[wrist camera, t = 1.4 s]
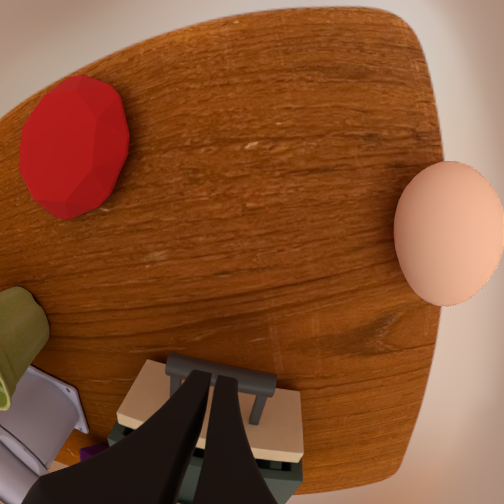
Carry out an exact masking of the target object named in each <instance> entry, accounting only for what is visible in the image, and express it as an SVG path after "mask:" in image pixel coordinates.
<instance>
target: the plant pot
mask: <svg viewBox="0 0 504 504" xmlns="http://www.w3.org/2000/svg"><path fill="white" fill-rule="evenodd" d="M49 334H50V329H49V324H48V320H47V317H46V315H45V312H44V311H43V309H42V307H41V306H39V305H38V304H37V303H36V302H35V300H34V299H33V297H32V294H31V293H30V292H29V291H27V290H26V289H24V288H22V287H19V286H15V287H12V288H9V289H7V290H4V291H2V292H0V410H3V411H7V410H8V409H9V408H10V406H11V403H12V399H11V397H12V396H13V394H14V392H15V390H16V385H17V383H18V382H19V380H20V379H21V377H22V376H23V374H24V373H25V371H26V370H27V368H28V367H29V366H30V364H31V363H32V361H33V360H34V359H35V357H36V356H37V354H38V353H39V352H40V350H41V349H42V348H43V346H44V345H45V344H46V342H47V340H48V338H49Z"/></svg>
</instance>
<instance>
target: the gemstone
mask: <svg viewBox="0 0 504 504" xmlns="http://www.w3.org/2000/svg"><path fill="white" fill-rule="evenodd" d="M129 139H130V134H129V129H128V125H127V121H126V116H125V112H124V107H123V103H122V98H121V96H120V95H119V94H118V93H117V91H116V90H115V89H114V87H113V86H111V85H109V84H106V83H104V82H101V81H99V80H96V79H93V78H91V77H88V76H85V75H79V76H74V77H70V78H68V79H67V80H65V81H64V82H62V83H61V84H59V85H58V86H57V87H55V88H54V89H52V90H51V91H50V92H48V93H47V94H45V95H44V96H43V98H42V99H41V100H40V102H39V103H38V104H37V106H36V107H35V109H34V110H33V112H32V113H31V115H30V116H29V118H28V119H27V121H26V123H25V124H24V126H23V128H22V135H21V145H20V157H19V171H20V173H21V175H22V178H23V180H24V182H25V184H26V186H27V189H28V191H29V192H30V194H31V196H32V198H33V199H34V201H35V202H36V203H37V204H39V205H40V206H41V207H43V208H44V209H45V210H47V211H48V212H49V213H51V214H52V215H54V216H55V217H56V218H61V219H72V218H74V217H76V216H79V215H81V214H83V213H86V212H88V211H90V210H93V209H95V208H97V207H100V206H101V205H102V204H103V202H104V201H105V200H106V199H107V198H108V197H109V196H110V195H111V193H112V191H113V188H114V186H115V183H116V181H117V178H118V176H119V174H120V171H121V169H122V167H123V165H124V162H125V160H126V158H127V156H128V148H129Z"/></svg>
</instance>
